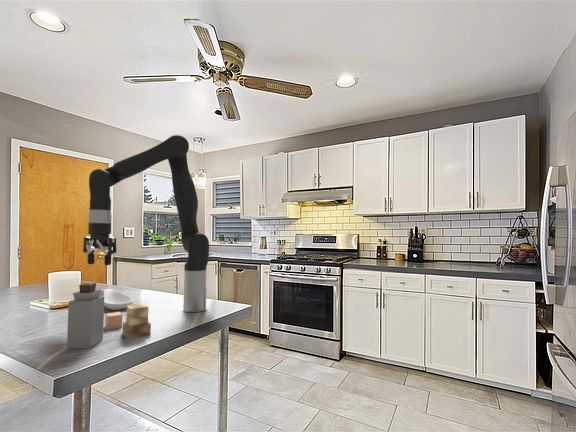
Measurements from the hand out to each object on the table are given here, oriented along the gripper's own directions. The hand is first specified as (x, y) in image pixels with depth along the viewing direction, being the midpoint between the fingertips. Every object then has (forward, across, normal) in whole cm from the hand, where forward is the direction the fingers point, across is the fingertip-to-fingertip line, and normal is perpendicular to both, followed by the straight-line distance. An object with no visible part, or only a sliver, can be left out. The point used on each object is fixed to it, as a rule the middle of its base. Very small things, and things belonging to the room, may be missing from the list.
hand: (99, 264), depth 118 cm
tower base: (+22, +25, -7) cm, 34 cm away
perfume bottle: (+21, +18, -19) cm, 33 cm away
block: (+21, +12, -3) cm, 24 cm away
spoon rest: (+22, -14, +18) cm, 31 cm away
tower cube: (+17, +25, -6) cm, 31 cm away
